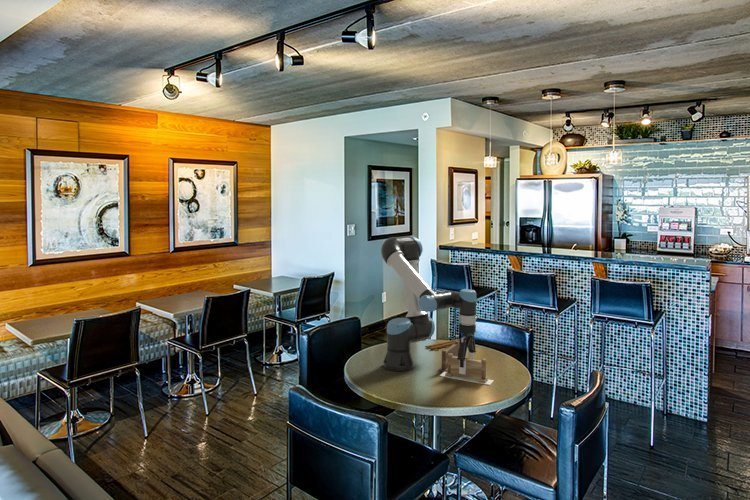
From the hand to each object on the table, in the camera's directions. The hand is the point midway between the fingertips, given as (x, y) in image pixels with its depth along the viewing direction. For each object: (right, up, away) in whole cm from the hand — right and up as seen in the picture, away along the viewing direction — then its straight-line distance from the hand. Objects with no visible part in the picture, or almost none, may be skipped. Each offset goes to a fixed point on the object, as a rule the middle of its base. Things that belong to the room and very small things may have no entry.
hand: (466, 369), depth 230 cm
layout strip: (0, -4, 0) cm, 4 cm away
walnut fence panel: (-5, -2, +19) cm, 20 cm away
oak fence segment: (0, -4, 0) cm, 4 cm away
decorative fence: (-2, 0, +53) cm, 53 cm away
